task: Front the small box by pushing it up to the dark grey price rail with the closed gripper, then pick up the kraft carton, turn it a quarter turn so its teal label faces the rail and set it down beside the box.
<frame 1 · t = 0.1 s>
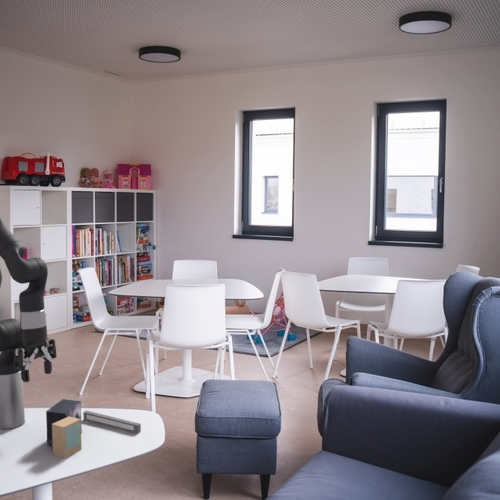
hand: (37, 377, 199), 17 cm above the table, tool pointing down, fingers open, 8 cm apart
price rail: (111, 425, 206), on the table
small box: (65, 440, 196), on the table
kraft carton: (67, 452, 188), on the table
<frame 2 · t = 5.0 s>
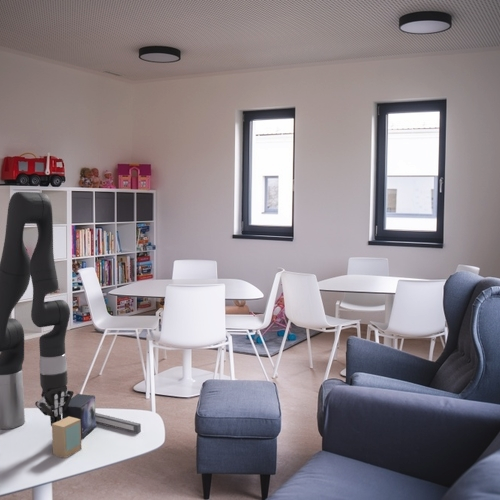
hand: (56, 427, 192), 5 cm above the table, tool pointing down, fingers closed
small box: (79, 433, 201), on the table, touching hand
everything else where it was.
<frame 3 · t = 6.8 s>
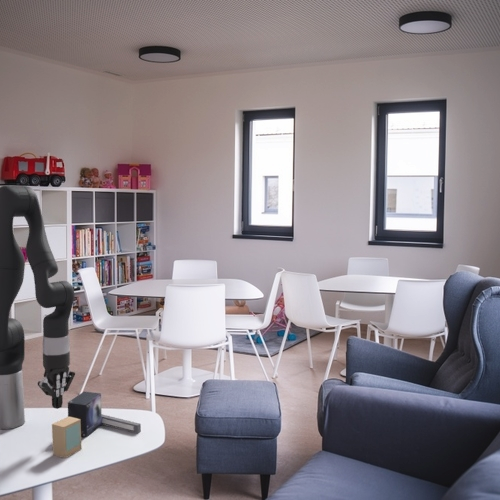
hand: (57, 407, 193), 10 cm above the table, tool pointing down, fingers closed
small box: (85, 430, 203), on the table
everything else where it was.
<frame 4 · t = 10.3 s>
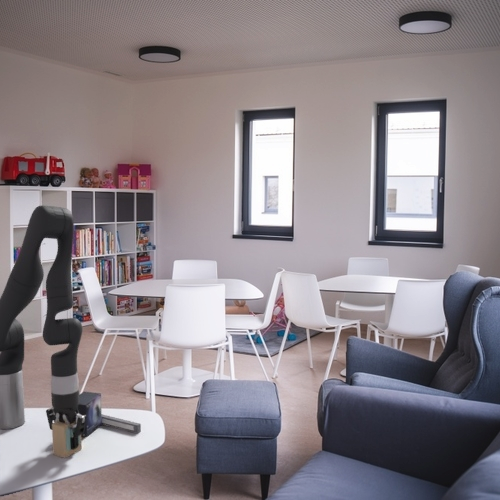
hand: (67, 446, 187), 2 cm above the table, tool pointing down, fingers closed on kraft carton, 4 cm apart
kraft carton: (67, 451, 188), on the table, touching gripper
everything else where it was.
when the fingers open (3 cm above the table, at t = 15.4 s): kraft carton drops 1 cm, on the table.
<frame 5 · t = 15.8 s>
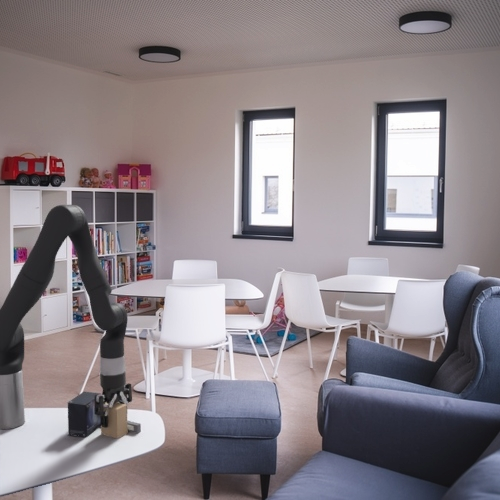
hand: (114, 422, 200), 4 cm above the table, tool pointing down, fingers open, 8 cm apart
kraft carton: (114, 433, 200), on the table
everything else where it was.
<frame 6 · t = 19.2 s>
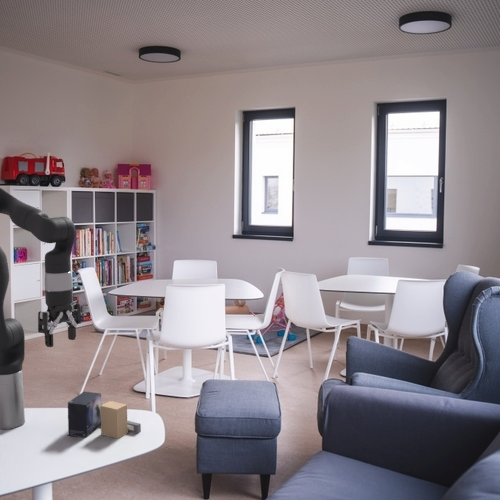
hand: (60, 343, 190), 30 cm above the table, tool pointing down, fingers open, 8 cm apart
nothing on the table moved.
at the end: small box inside the target area (0.5 cm from its centre), on the table; kraft carton inside the target area (0.3 cm from its centre), on the table; kraft carton tilted 0° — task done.
